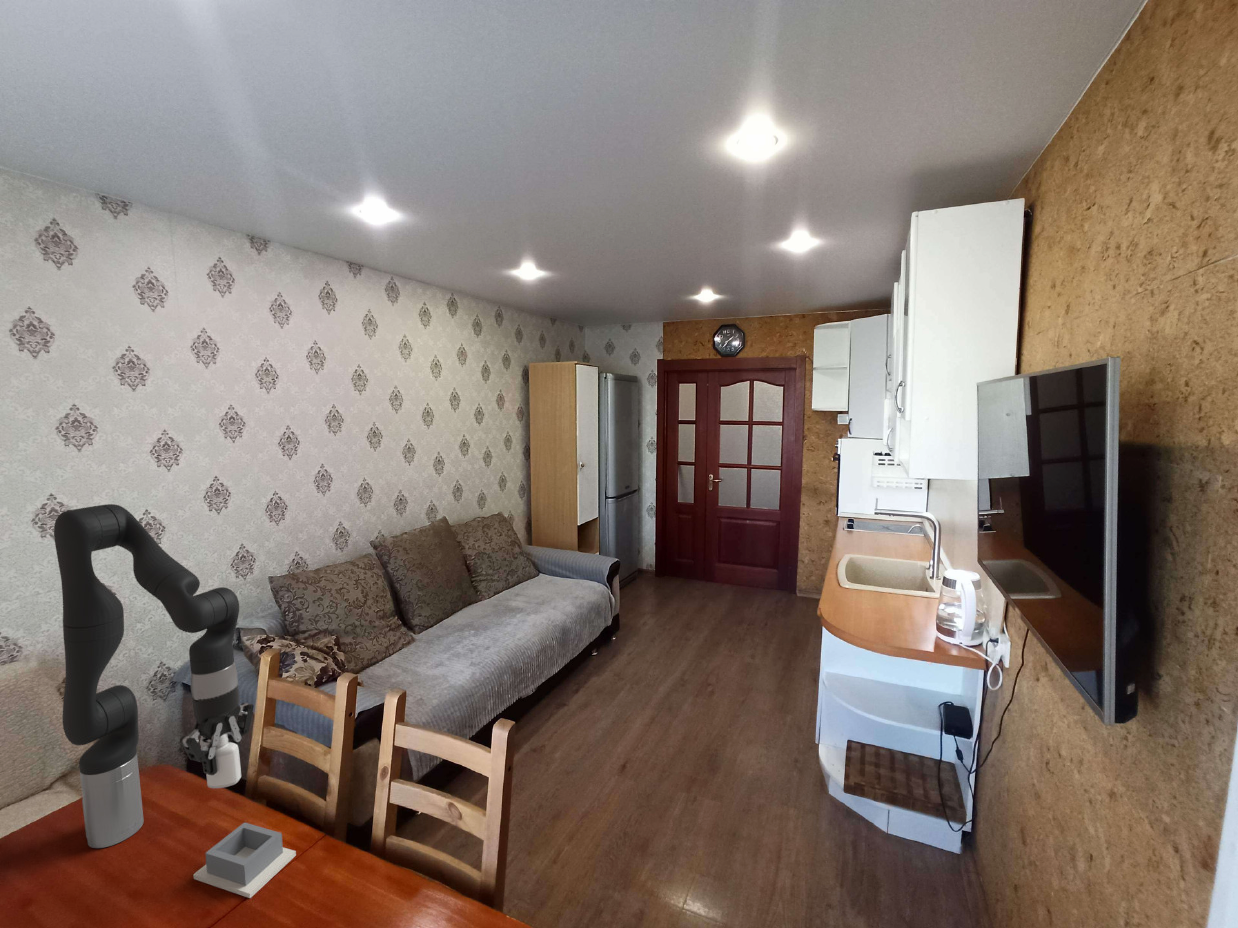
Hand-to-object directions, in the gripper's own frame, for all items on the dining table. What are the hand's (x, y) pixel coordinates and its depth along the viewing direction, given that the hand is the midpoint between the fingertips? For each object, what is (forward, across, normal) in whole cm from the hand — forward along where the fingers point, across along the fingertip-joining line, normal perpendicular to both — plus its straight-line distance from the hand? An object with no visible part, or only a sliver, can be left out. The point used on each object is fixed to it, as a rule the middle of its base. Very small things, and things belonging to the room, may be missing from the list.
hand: (223, 765), depth 110 cm
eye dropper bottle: (+4, 0, 0) cm, 4 cm away
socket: (+22, 0, +3) cm, 22 cm away
